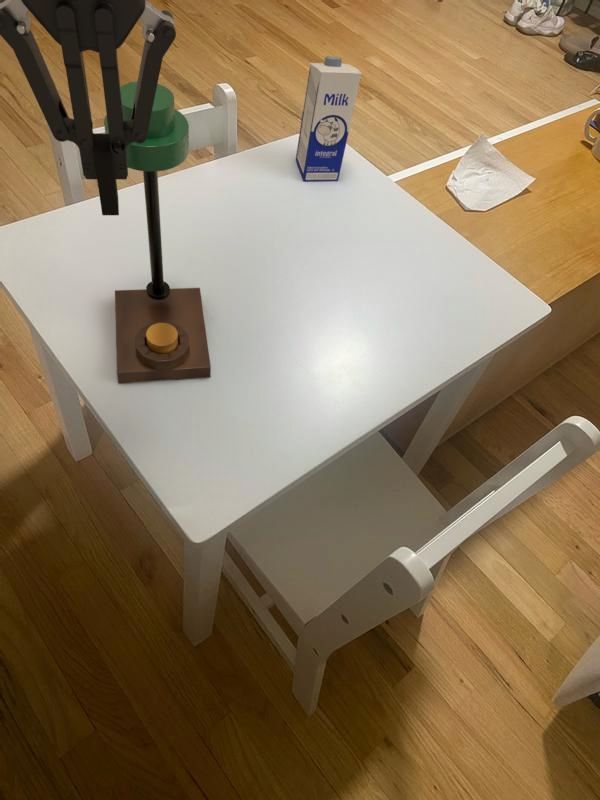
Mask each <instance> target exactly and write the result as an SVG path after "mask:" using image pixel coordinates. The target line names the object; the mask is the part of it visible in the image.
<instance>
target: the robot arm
mask: <svg viewBox="0 0 600 800" xmlns="http://www.w3.org/2000/svg"><path fill="white" fill-rule="evenodd" d="M29 12H30V13H31V15H32V16H33V17H34V18H35V19H36V20H37V22H38V23H39V24H40V25H41V26H42V27H43V29H44V30H45V31H46V32H47V34H48V35H49V36H50V37H51V38H52V40H54V41H55V42H56V43H57V44H58V45H59V46H60V47H61V52H62V58H63V63H64V64H63V65H64V67H65V73H66V78H67V79H66V80H67V86H68V92H69V99H70V104H71V111H72V117H73V118H71V117H69V114H68V112H67V110H66V107H65V106H64V105H65V104H64V103H63V99H62V98H61V96H60V93H59V91H58V89H57V87H56V84H55V82H54V79H53V78H52V75H51V73H50V71H49V68H48V65H47V63H46V61H45V59H44V57H43V54H42V52H41V49H40V47H39V45H38V43H37V41H36V38H35V36H34V34H33V31H32V29H31V28H32V18H31V16H30V15H29V14H30V13H29ZM140 20H141V22H142V23H141V34H142V37H143V39H144V43H143V49H142V54H141V58H140V64H139V71H138V76H137V80H136V81H137V87H136V92H135V98H134V104H133V109H132V115H131V119H130V120H127V121H123V111H122V100H121V90H120V87H121V81H120V69H119V61H118V49H119V48H121V46H123V44H124V43H125V41H126V39H127V38H128V37H129V35H130V34H131V32H132V31H133V29H134V27H135V26H136V24H137V23H138V21H140ZM0 36H1V38H2V39H3V40H4V41H5V42H6V44H8V45H9V47H10V48H11V49H12V51H13V52H14V54H15V58H16V59H17V61H18V63H19V65H20V68H21V70H22V73H23V74H24V76H25V78H26V80H27V83H28V85H29V87H30V89H31V91H32V93H33V95H34V98H35V100H36V102H37V104H38V106H39V108H40V110H41V113H42V115H43V116H44V119H45V121H46V123H47V125H48V127H49V129H50V132H51V134H52V136H53V138H54V139H55V140H56V141H58V142H62V143H63V142H64V143H65V142H67V141H68V142H71V143H73V144H75V145H76V146H77V148H78V151H79V157H80V162H81V168H82V169H81V170H82V174H83V177H84V178H85V179H86V180H96V181H97V188H98V195H99V202H100V208H101V215H102V216H120V207H119V205H120V204H119V192H118V183H117V182H118V181H117V180H127V179H128V176H129V168H128V165H127V154H126V147H127V146H128V145H129V144H130V143H133V142H136V143H143V142H144V141H145V140H146V137H147V132H148V128H149V123H150V118H151V113H152V108H153V103H154V98H155V93H156V88H157V84H159V78H160V73H161V68H162V65H163V59H164V57H165V55H166V53H167V52H168V51H169V49H170V48H171V46H172V44H173V42H174V41H175V40H176V37H177V31H176V26H175V19H174V16H173V14H172V13H171V11H168V10H160V9H158V8H157V7H156V6H154V5H153V4H151V3H150V2H149V1H147V0H0ZM86 51H92V52H95V53H98V54H99V55H98V58H99V63H100V64H99V65H100V69H101V79H102V87H103V96H104V104H105V111H106V112H105V113H106V115H107V121H108V129H109V134H105V133H94V122H93V119H92V111H91V103H90V97H89V90H88V89H89V88H88V82H87V81H88V80H87V74H86V67H85V59H84V52H86Z"/></svg>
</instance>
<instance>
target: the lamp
mask: <svg viewBox="0 0 600 800" xmlns="http://www.w3.org/2000/svg"><path fill="white" fill-rule="evenodd" d="M137 81H138V80H136V81H130V82H127V83H124V84H123V85H120V90H121V100H122V111H123V121H127V120H130V119H131V115H132V109H133V104H134V98H135V92H136V87H137ZM103 126H104V134H109V129H108V121H107V114H105V117H104V120H103ZM189 153H190V124H189V121H188V119H187V118H186V117H185V115H184V114H183V113H181V112H180V111H179V110H177V109H176V108H175V95H174V93H173V92H172V91H171V90H170V89H169V88H168V87H166V86H164V85H162V84H159V83H158V84H157V88H156V93H155V98H154V103H153V108H152V113H151V118H150V123H149V128H148V132H147V137H146V140H145V141H144V142H143V143H136V142H133V143H130V144H129V145H128V146H127V147H126V154H127V165H128V169H131V170H133V171H140V172H142V175H143V187H144V199H145V214H146V225H147V226H146V227H147V238H148V239H147V240H148V241H147V242H148V253H149V263H150V264H149V265H150V266H149V267H150V277H151V281H150V282H148V283H147V285H146V286H145V287H146V291H147V295H148V296H149V297H150V298H152V299H154V300H163V299H165V298H167V297H168V296H169V294H170V289H171V287H170V285H169V284H168V282H166V281H164V280H165V279H164V262H163V244H162V228H161V227H162V225H161V208H160V195H159V194H160V193H159V192H160V191H159V177H158V176H159V174H158V172H163V171H168V170H171V169H174V168H176V167H178V166H180V165H182V164H183V163H184V162H185V161H186V159H187V158H188V156H189Z"/></svg>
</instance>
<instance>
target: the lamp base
mask: <svg viewBox="0 0 600 800" xmlns="http://www.w3.org/2000/svg"><path fill="white" fill-rule="evenodd" d="M114 303H115V304H114V307H115V308H114V310H115V311H114V312H115V313H114V314H115V347H116V350H115V351H116V352H115V353H116V375H117V381H118V384H126V383H139V382H141V383H144V382H156V381H174V380H186V379H187V380H191V379H202V378H203V379H204V378H205V379H206V378H211V370H212V369H211V368H212V366H211V359H210V352H209V351H210V350H209V345H208V338H207V337H208V336H207V330H206V322H205V314H204V309H203V308H204V307H203V300H202V294H201V287H182V288H181V287H179V288H177V287H176V288H175V287H174V288H170V294H169V296H168V297H167V298H165V299H163V300H154V299H152V298H150V297H149V296H148V295H147V291H146V289H145V288H143V289H117V290H116V289H115V290H114ZM157 323H167V324H170V325H172V326H173V327H175V329H176V330H177V333H178V345H177V348H176V349H175V350H174V351H173V352H171V353H168V354H156V353H154V352H152V351H151V350H150V349H149V348H148V346H147V339H146V332H147V330H148V328H149V327H150V326H152V325H154V324H157Z"/></svg>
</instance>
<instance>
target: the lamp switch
mask: <svg viewBox="0 0 600 800" xmlns="http://www.w3.org/2000/svg"><path fill="white" fill-rule="evenodd" d="M146 339H147V346H148V348H149V349H150V350H151V351H152V352H154V353H156V354H168V353H171V352H173V351H174V350H175V349H176V348H177V345H178V333H177V330H176V329H175V327H173V326H172V325H170V324H167V323H157V324H154V325H152V326H150V327H149V328H148V330H147V332H146Z"/></svg>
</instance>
